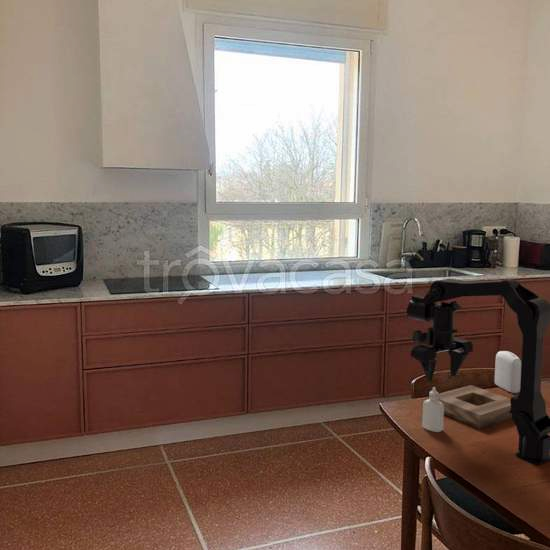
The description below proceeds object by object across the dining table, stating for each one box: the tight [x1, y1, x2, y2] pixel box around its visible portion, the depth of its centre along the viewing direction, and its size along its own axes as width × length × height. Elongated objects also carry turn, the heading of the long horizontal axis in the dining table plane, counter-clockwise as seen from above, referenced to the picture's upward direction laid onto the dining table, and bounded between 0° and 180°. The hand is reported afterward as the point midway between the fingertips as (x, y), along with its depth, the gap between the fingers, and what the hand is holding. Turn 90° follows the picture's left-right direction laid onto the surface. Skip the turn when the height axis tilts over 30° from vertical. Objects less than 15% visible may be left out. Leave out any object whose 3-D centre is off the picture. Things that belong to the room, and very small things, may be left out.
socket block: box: [438, 384, 512, 429], centre depth 178 cm, size 18×18×4 cm
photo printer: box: [494, 350, 521, 394], centre depth 198 cm, size 10×4×12 cm, turn 13°
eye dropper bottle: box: [421, 386, 445, 433], centre depth 165 cm, size 4×6×12 cm
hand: (441, 378), depth 167 cm, fingers open, 9 cm apart
